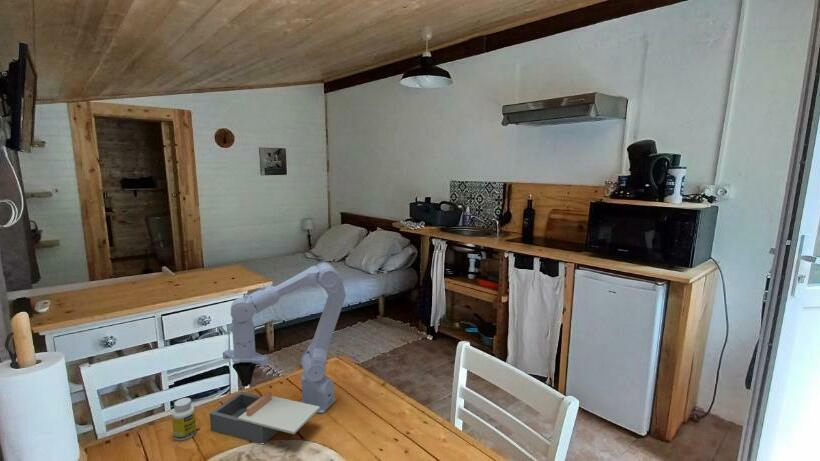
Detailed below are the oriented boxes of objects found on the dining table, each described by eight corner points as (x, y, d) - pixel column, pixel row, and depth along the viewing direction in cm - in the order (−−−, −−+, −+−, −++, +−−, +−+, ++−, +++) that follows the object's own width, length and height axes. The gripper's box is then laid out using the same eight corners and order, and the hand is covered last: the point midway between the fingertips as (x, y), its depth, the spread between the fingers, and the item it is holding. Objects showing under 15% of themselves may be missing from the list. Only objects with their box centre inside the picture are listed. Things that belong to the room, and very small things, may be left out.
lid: (320, 408, 114) (319, 399, 113) (294, 434, 102) (293, 424, 102) (267, 396, 120) (267, 388, 119) (237, 419, 109) (237, 410, 108)
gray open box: (291, 418, 118) (290, 402, 117) (263, 444, 107) (262, 427, 106) (242, 406, 124) (241, 391, 123) (210, 430, 113) (209, 413, 112)
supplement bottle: (186, 442, 107) (183, 408, 106) (169, 439, 109) (165, 406, 107) (200, 430, 113) (198, 397, 111) (184, 427, 114) (181, 395, 112)
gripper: (213, 342, 114) (216, 387, 115) (254, 349, 109) (257, 396, 111) (231, 332, 120) (234, 375, 122) (271, 339, 115) (274, 383, 117)
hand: (246, 384), depth 117 cm, fingers closed
